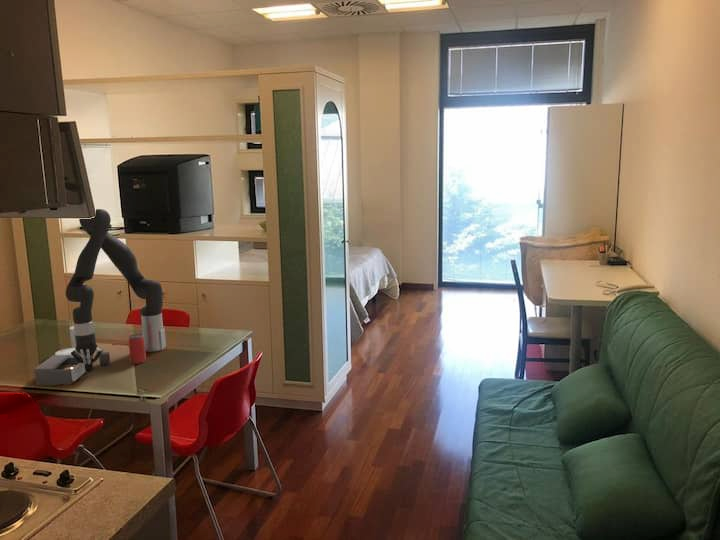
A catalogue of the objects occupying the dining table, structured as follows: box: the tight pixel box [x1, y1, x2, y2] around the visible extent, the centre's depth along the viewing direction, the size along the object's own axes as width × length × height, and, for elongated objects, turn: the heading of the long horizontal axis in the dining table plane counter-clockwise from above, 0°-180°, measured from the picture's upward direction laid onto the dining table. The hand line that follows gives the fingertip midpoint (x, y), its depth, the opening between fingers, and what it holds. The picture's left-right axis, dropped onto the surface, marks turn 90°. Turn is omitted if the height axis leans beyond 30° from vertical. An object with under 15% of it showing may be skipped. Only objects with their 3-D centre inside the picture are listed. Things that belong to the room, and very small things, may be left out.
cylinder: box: [98, 351, 111, 367], centre depth 260 cm, size 4×4×5 cm
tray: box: [54, 363, 87, 382], centre depth 246 cm, size 14×16×5 cm
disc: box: [58, 365, 74, 370], centre depth 246 cm, size 6×6×2 cm
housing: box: [33, 354, 85, 386], centre depth 246 cm, size 14×16×7 cm
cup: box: [69, 325, 76, 348], centre depth 277 cm, size 8×8×12 cm
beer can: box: [128, 333, 147, 365], centre depth 262 cm, size 7×7×12 cm
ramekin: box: [54, 347, 75, 357], centre depth 264 cm, size 11×11×5 cm
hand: (89, 371), depth 246 cm, fingers closed
